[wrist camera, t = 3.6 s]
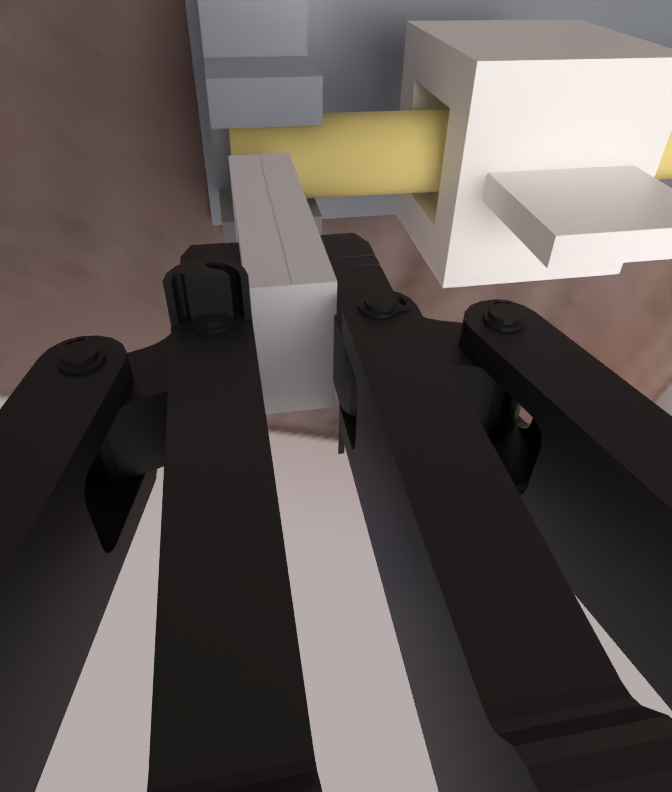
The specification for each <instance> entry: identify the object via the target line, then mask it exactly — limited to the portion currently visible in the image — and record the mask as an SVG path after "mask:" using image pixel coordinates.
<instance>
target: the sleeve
mask: <svg viewBox="0 0 672 792" xmlns="http://www.w3.org/2000/svg"><path fill="white" fill-rule="evenodd" d="M433 109H450V112H449V120H448V127H447V135H446V143H445V150H444V158H443V165H442V173H441V180H440V188H439V192H423V193H404V194H393V198H392V210H393V211H394V213H395V215H396V216H397V218H398V219H399V221H400V222H401V224H402V225H403V227H404V229H405V230H406V232H407V233H408V235H409V236H410V238H411V239H412V241H413V243H414V244H415V246H416V247H417V249H418V250H419V252H420V253H421V255H422V257H423V258H424V260H425V261H426V263H427V264H428V266H429V267H430V269H431V271H432V272H433V274H434V275H435V277H436V278H437V280H438V281H439V283H440V285H441V286H442V288H450V287H463V286H475V285H487V284H500V283H512V282H524V281H537V280H549V279H561V278H574V277H586V276H599V275H611V274H619V273H620V270H621V268H622V265H623V263H624V262H637V261H650V260H663V259H672V188H671V187H669V186H667V185H666V184H664V183H662V182H661V181H659V180H657V179H656V178H654V177H655V174H656V172H657V169H658V166H659V164H660V161H661V158H662V155H663V153H664V150H665V147H666V144H667V142H668V139H669V136H670V133H671V131H672V48H669V47H665V46H662V45H659V44H656V43H653V42H649V41H646V40H643V39H640V38H637V37H634V36H630V35H627V34H624V33H621V32H618V31H615V30H611V29H608V28H605V27H602V26H599V25H595V24H592V23H589V22H586V21H583V20H580V19H562V20H444V21H407V26H406V38H405V50H404V63H403V75H402V87H401V99H400V111H402V110H433Z"/></svg>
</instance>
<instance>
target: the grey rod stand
mask: <svg viewBox="0 0 672 792" xmlns="http://www.w3.org/2000/svg"><path fill="white" fill-rule="evenodd" d="M185 6H186V14H187V22H188V30H189V38H190V46H191V55H192V63H193V71H194V79H195V87H196V95H197V103H198V111H199V119H200V128H201V136H202V144H203V152H204V160H205V168H206V176H207V184H208V192H209V200H210V209H211V217H212V225H213V226H214V225H222V230H223V239H224V243H234V242H237V240H236V230H235V220H234V209H233V199H232V189H231V179H230V168H229V158H228V156H232V155H256V154H280V153H289V154H290V157H291V159H292V162H293V165H294V167H295V170H296V173H297V175H298V178H299V181H300V183H301V186H302V189H303V191H304V194H305V197H306V199H307V202H308V205H309V207H310V210H311V213H312V215H313V218H314V221H315V223H316V226H317V229H318V231H319V234H320V235H322V219H330V218H346V217H363V216H379V215H395V213H394V211H393V210H392V198H393V194H404V193H423V192H439V188H440V180H441V173H442V165H443V158H444V150H445V143H446V135H447V127H448V120H449V112H450V109H433V110H402V111H400V99H401V87H402V75H403V63H404V50H405V38H406V26H407V21H444V20H562V19H580V20H583V21H586V22H589V23H592V24H595V25H599V26H602V27H605V28H608V29H611V30H615V31H618V32H621V33H624V34H627V35H630V36H634V37H637V38H640V39H643V40H646V41H649V42H653V43H656V44H659V45H662V46H665V47H669V48H672V0H185ZM654 178H656V179H657V180H659V181H661V182H662V183H664V184H666V185H667V186H669V187H671V188H672V131H671V133H670V136H669V139H668V142H667V144H666V147H665V150H664V153H663V155H662V158H661V161H660V164H659V166H658V169H657V172H656V174H655V177H654Z"/></svg>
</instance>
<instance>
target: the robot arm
mask: <svg viewBox="0 0 672 792" xmlns="http://www.w3.org/2000/svg"><path fill="white" fill-rule="evenodd" d="M228 158H229V168H230V179H231V189H232V199H233V209H234V220H235V230H236V240H237V242H234V243H218V244H202V245H191V246H190V247H189V248H188V249H187V250H186V252H185V253H184V254H183V255H182V256H181V261H180V265H178V266H176V267H174V268H173V269H171V270H170V271H169V272H167V273H166V275H165V277H164V279H163V286H164V291H165V296H166V301H167V306H168V311H169V317H170V322H171V334H170V335H169V336H167V337H166V338H165V339H164V340H162V341H160V342H158V343H156V344H154V345H151V346H149V347H146V348H143V349H140V350H136V351H133V352H129V353H127V352H126V350H125V348H124V346H123V344H122V343H120V342H118V341H116V340H115V339H113V338H109V337H103V336H98V335H97V336H81V337H75V338H71V339H68V340H65V341H63V342H61V343H59V344H57V345H55V346H53V347H51V348H49V349H48V350H47V351H46V352H45V353H44V354H42V355H41V356H40V357H39V358H38V360H37V361H36V362H35V364H34V365H33V366H32V368H31V369H30V370H29V371H28V373H27V374H26V375H25V377H24V378H23V379H22V381H21V382H20V383H19V385H18V386H17V387H16V389H15V390H14V391H13V393H12V394H11V395H10V397H9V398H8V399H7V401H6V402H5V403H4V405H3V406H2V407H1V409H0V792H35V790H36V787H37V785H38V782H39V779H40V777H41V774H42V772H43V769H44V767H45V764H46V761H47V759H48V756H49V754H50V751H51V749H52V746H53V743H54V740H55V738H56V736H57V733H58V730H59V728H60V725H61V723H62V720H63V718H64V715H65V712H66V710H67V707H68V705H69V702H70V700H71V697H72V694H73V692H74V689H75V687H76V684H77V682H78V679H79V676H80V674H81V671H82V669H83V666H84V663H85V661H86V658H87V656H88V653H89V651H90V648H91V645H92V643H93V640H94V638H95V635H96V633H97V630H98V627H99V625H100V622H101V620H102V617H103V615H104V612H105V609H106V606H107V604H108V601H109V599H110V597H111V594H112V591H113V589H114V586H115V584H116V581H117V579H118V576H119V573H120V571H121V568H122V566H123V563H124V560H125V558H126V555H127V553H128V550H129V548H130V545H131V542H132V540H133V537H134V535H135V532H136V529H137V527H138V524H139V522H140V519H141V517H142V514H143V512H144V509H145V506H146V504H147V501H148V499H149V496H150V494H151V491H152V488H153V486H154V483H155V480H156V473H157V469H158V468H160V467H163V466H164V480H163V499H162V519H161V539H160V559H159V579H158V599H157V618H156V619H157V620H156V637H155V657H154V677H153V696H152V717H151V736H150V757H149V775H148V786H147V792H322V788H321V784H320V780H319V777H318V772H317V768H316V762H315V756H314V750H313V744H312V736H311V729H310V722H309V715H308V708H307V701H306V694H305V687H304V680H303V673H302V666H301V659H300V652H299V645H298V638H297V631H296V624H295V617H294V610H293V602H292V596H291V588H290V581H289V575H288V567H287V561H286V553H285V546H284V539H283V532H282V525H281V518H280V512H279V504H278V497H277V491H276V484H275V477H274V469H273V462H272V456H271V448H270V441H269V434H268V427H267V420H266V414H274V413H284V412H293V411H302V410H311V409H321V408H330V407H335V388H336V392H337V395H338V399H339V402H340V410H339V447H338V454H341V453H344V446H345V448H346V452H347V455H348V459H349V463H350V467H351V470H352V474H353V477H354V481H355V485H356V488H357V492H358V496H359V500H360V503H361V507H362V511H363V514H364V518H365V522H366V525H367V529H368V533H369V536H370V540H371V544H372V547H373V551H374V555H375V559H376V562H377V566H378V570H379V573H380V577H381V581H382V584H383V588H384V592H385V595H386V599H387V603H388V606H389V610H390V614H391V618H392V621H393V624H394V629H395V632H396V636H397V639H398V643H399V646H400V651H401V654H402V658H403V662H404V665H405V669H406V673H407V676H408V680H409V684H410V688H411V691H412V695H413V699H414V702H415V706H416V709H417V713H418V717H419V721H420V724H421V728H422V732H423V735H424V739H425V743H426V746H427V750H428V753H429V757H430V761H431V765H432V769H433V772H434V776H435V780H436V783H437V787H438V791H439V792H672V718H671V717H669V716H668V715H666V714H663V713H660V712H658V711H655V710H652V709H649V708H647V707H644V706H641V705H640V704H639V703H638V702H637V701H636V700H635V699H634V698H633V697H632V696H631V695H630V694H629V692H628V691H627V689H626V688H625V686H624V685H623V683H622V682H621V680H620V678H619V676H618V674H617V672H616V670H615V669H614V667H613V665H612V663H611V661H610V659H609V658H608V656H607V654H606V652H605V650H604V648H603V646H602V645H601V643H600V641H599V639H598V637H597V636H596V634H595V632H594V630H593V628H592V626H591V624H590V623H589V621H588V619H587V617H586V615H585V613H584V612H583V610H582V608H581V606H580V604H579V603H578V601H577V599H576V597H575V595H576V596H577V598H578V599H579V600H580V601H581V602H582V604H583V605H584V606H585V607H586V608H587V609H588V611H589V612H590V613H591V614H592V616H593V617H594V618H595V619H596V620H597V621H598V623H599V624H600V625H601V626H602V627H603V629H604V630H605V631H606V632H607V633H608V635H609V636H610V637H611V638H612V639H613V641H614V642H615V643H616V644H617V646H618V647H619V648H620V649H621V650H622V652H623V653H624V654H625V655H626V656H627V658H628V659H629V660H630V661H631V662H632V664H633V665H634V666H635V667H636V668H637V670H638V671H639V672H640V673H641V674H642V675H643V677H644V678H645V679H646V680H647V681H648V683H649V684H650V685H651V686H652V687H653V688H654V690H655V691H656V692H657V693H658V695H659V696H660V697H661V698H662V699H663V701H664V702H665V703H666V704H667V705H668V707H669V708H670V709H671V710H672V416H670V415H669V414H668V413H667V412H665V411H664V410H663V409H661V408H660V407H659V406H657V405H656V404H655V403H654V402H652V401H651V400H650V399H648V398H647V397H646V396H644V395H643V394H642V393H640V392H639V391H638V390H637V389H635V388H634V387H633V386H631V385H630V384H629V383H627V382H626V381H625V380H623V379H622V378H621V377H620V376H618V375H617V374H616V373H614V372H613V371H612V370H610V369H609V368H608V367H606V366H605V365H604V364H603V363H601V362H600V361H599V360H597V359H596V358H595V357H593V356H592V355H591V354H589V353H588V352H587V351H586V350H584V349H583V348H582V347H580V346H579V345H578V344H576V343H575V342H574V341H572V340H571V339H570V338H569V337H567V336H566V335H565V334H563V333H562V332H561V331H559V330H558V329H557V328H555V327H554V326H553V325H552V324H550V323H549V322H548V321H546V320H545V319H544V318H542V317H541V316H540V315H538V314H537V313H536V312H534V311H532V310H531V309H529V308H527V307H525V306H524V305H520V304H517V303H514V302H512V301H508V300H503V301H502V300H488V301H480V302H478V303H475V304H473V305H471V306H470V307H469V308H468V309H467V310H466V311H465V314H464V319H463V323H459V322H449V321H440V320H434V319H428V318H425V317H423V316H422V314H421V312H420V310H419V308H418V307H417V305H416V304H415V303H414V302H413V301H412V300H411V299H410V298H409V297H407V296H405V295H403V294H401V293H399V292H394V291H393V289H392V287H391V286H390V284H389V282H388V280H387V278H386V276H385V274H384V272H383V270H382V268H381V266H380V265H379V262H378V260H377V258H376V257H375V254H374V252H373V250H372V248H371V246H370V244H369V243H368V242H367V241H365V240H364V239H362V238H361V237H359V236H358V235H356V234H355V233H348V234H332V235H320V234H319V231H318V229H317V226H316V223H315V221H314V218H313V215H312V213H311V210H310V207H309V205H308V202H307V199H306V197H305V194H304V191H303V189H302V186H301V183H300V181H299V178H298V175H297V173H296V170H295V167H294V165H293V162H292V159H291V157H290V154H289V153H280V154H256V155H232V156H228ZM521 406H522V407H523V408H524V409H525V410H526V411H527V412H528V413H529V414H530V415H531V416H532V417H533V419H532V422H531V424H530V425H529V424H528V423H526V422H525V421H524V420H523V419H522V418H521V417H520V416H519V412H520V409H521ZM574 594H575V595H574Z"/></svg>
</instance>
